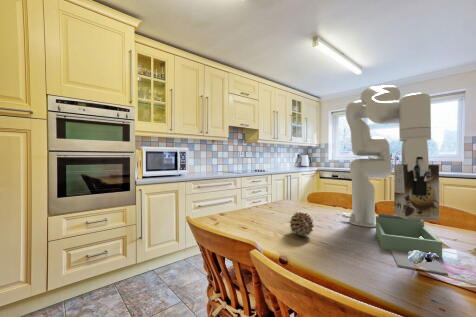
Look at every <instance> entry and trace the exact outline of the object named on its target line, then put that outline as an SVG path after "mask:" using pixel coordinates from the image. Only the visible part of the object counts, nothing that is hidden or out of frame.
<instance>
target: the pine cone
mask: <svg viewBox="0 0 476 317" xmlns="http://www.w3.org/2000/svg"><path fill="white" fill-rule="evenodd" d="M313 223H314V219H312V216H310V214H308V212H306V213H303V212H301V211H299V212H296V213H294V214H293V215H292V216H291V217H290V220H289V224H290V225H289V227H290V229H291V231H292V232H293V233H294V234H295V235H297V236H301V237H306V236H309V235H311V233H312V232H314V230H313V228H315V226H314V224H313Z"/></svg>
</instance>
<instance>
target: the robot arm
mask: <svg viewBox="0 0 476 317" xmlns="http://www.w3.org/2000/svg"><path fill="white" fill-rule="evenodd" d="M360 94H361V95H360V100H355V101H352V102H350V103H348V104H347V105H346V108H345V118H346V121H347V122H346V123H347V125H348V126H349V130H350V140H351V141H350V142H351V151H352V153H353V156H356V157H375V158H357V159H354V160H352V161H351V162H350V163H349V164H350V165H349V170H350V171H349V173H350V177H351V187H352V188H351V190H352V192H351V197H352V198H351V199H352V200H351V201H352V203H351V206H352V207H351V208H352V212H351V213H350V212H349V213H346V212H345V213H344V212H343V213H342V218H345V219H348V222H349V224H352V225H354V226H358V227H362V228H363V227H364V228H376V211H375V210H376V208H375V207H376V205H375V200H376V198H375V196H376V195H375V192H376V190H375V185H374V184H373V183H372V182H371V180H370V179H388V178H389V177H390V176H391V174H392V171H393V169H392V167H393V166H392V158H391V149H390V143H389V141H388V139H386V138H385V137H382V136H371V129H370V126H369V125H368V123H367V122H365V120H363V119H369V121H371V122H372V123H375V124H378V125H379V124H381V125H382V124H383V125H384V124H385V125H389V124H399V127H398V129H399V142H402V144H401V146H402V147H401V164H406V165H407V171H408V172H410V170H411V171H413V180H414V181H412V194H413V195H421V196H426V195H427V182H426V181H427V179H426V172H427V171H428V165H429V147H428V146H429V145H428V141H430V140H432V120H431V118H432V115H431V112H432V111H431V107H432V106H431V95H430V94H428V93H425V92H416V93H410V94H406V95H404V96H402V97H401V91H400V88H399V87H397V86H395V85H381V86H380V85H379V86H378V85H377V86H371V87H370V86H369V87H367V88H365V89H364V90H363V91H362V92H361V93H360ZM415 165H418V168H419V170H414V167H415Z"/></svg>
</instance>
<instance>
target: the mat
mask: <svg viewBox="0 0 476 317" xmlns="http://www.w3.org/2000/svg"><path fill="white" fill-rule="evenodd" d="M390 252H391V255H392V257H393V259H394V261H395V263H396V266H397V267H399V268H404V269H409V270H414V271H415V270H416V269H415V267H413V266H412V264H414V263H413V262H410V261H409V260H408V252H401V251H394V250H390ZM414 265H416V266H418V267H423V268H426V269H428V270H429V271H432V272H433V273H432V272H431V273H432V274H439V275H442V276H443V275H444V276H449V272H448V271H447V270H446V269H445V268H444V267H443V266H442V265H441V263H440V262H439V261H438V260H437V259H436V258H435V260H434V261H432V262H427V263H426V262H421V263H418V264H414ZM416 271H417V270H416Z"/></svg>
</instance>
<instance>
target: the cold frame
mask: <svg viewBox="0 0 476 317" xmlns="http://www.w3.org/2000/svg"><path fill="white" fill-rule="evenodd" d="M375 221H376V227H375V234H376V236H377V240H378V241H379V242H378V243H379V245H380V248H381V250H384V251H385V250H386V251H391V250H394V251H401V252H409V251H413V250H419V251H422V252H426V253H429V252H431V253H436V254H437V255H438V256H439V257H441V258H440V259H443V242H442V241H441V240H440V239H439V238H438V237H437V236H436V235H435V234H434V233H432V232H431V231H430V230H429V229H428V228H427V227H426V226H425V220H412V219H404V218H402V217H399V216H397V215H395V214H387V213H378V214H377V215H375ZM420 236H422V237H423V238H424V239H420V238H419V237H420Z"/></svg>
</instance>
